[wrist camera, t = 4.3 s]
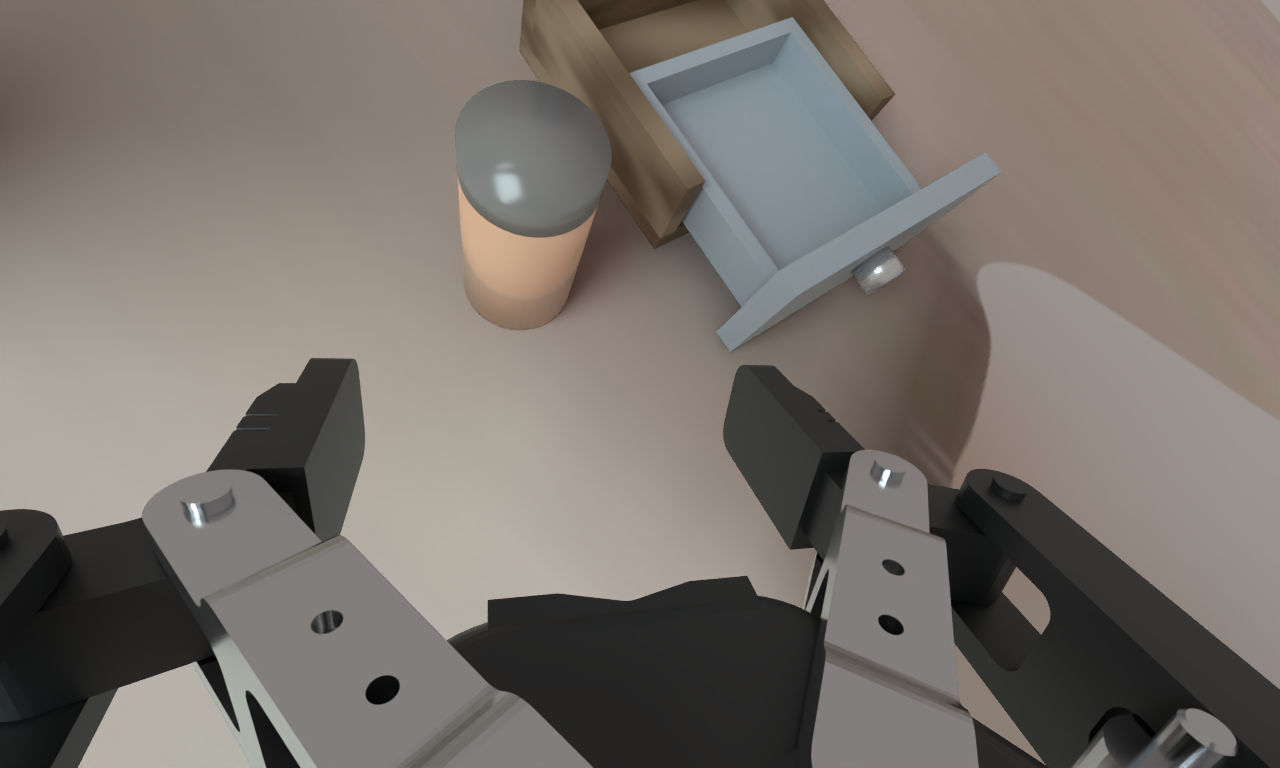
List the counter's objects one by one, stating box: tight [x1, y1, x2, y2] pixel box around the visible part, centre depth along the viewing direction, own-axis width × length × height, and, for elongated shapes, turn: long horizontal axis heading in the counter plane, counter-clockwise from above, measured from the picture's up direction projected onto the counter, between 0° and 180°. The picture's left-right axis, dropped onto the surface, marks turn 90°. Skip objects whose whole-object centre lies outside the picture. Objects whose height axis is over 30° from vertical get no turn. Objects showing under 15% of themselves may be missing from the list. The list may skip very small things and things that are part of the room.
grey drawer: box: [629, 17, 1001, 352], centre depth 28 cm, size 15×14×6 cm
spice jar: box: [455, 80, 612, 330], centre depth 22 cm, size 5×5×10 cm
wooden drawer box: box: [520, 0, 895, 249], centre depth 30 cm, size 13×14×5 cm
